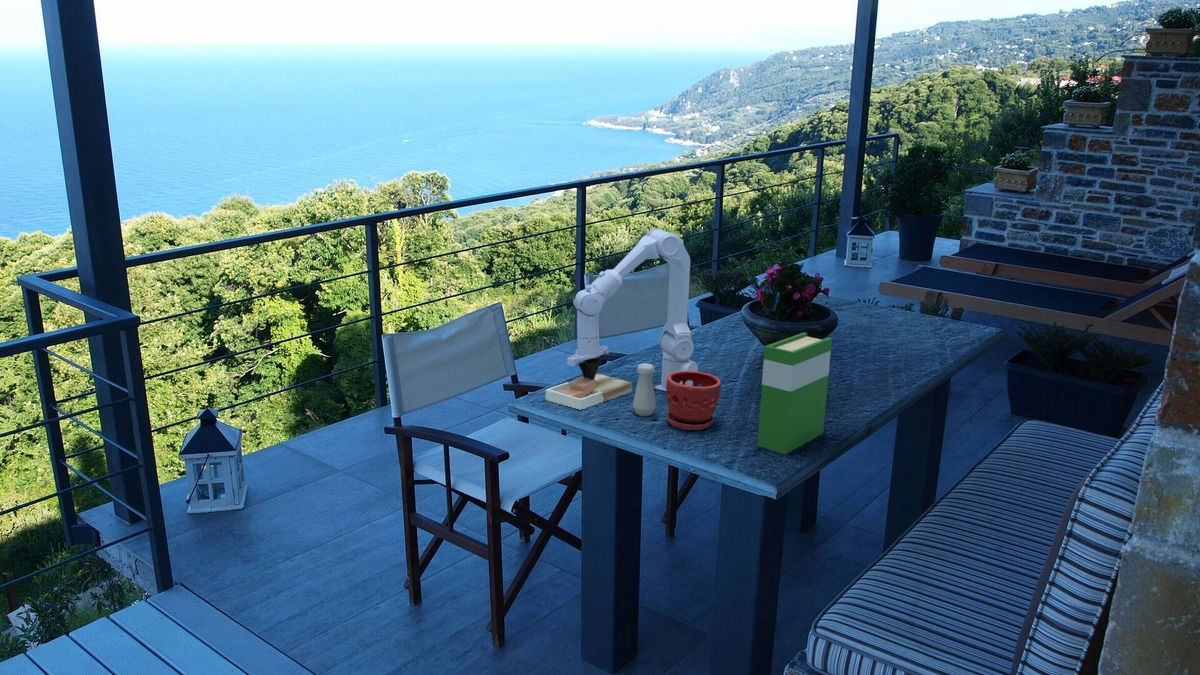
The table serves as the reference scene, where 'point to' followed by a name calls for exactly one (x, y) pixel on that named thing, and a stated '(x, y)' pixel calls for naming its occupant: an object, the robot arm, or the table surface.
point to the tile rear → (583, 384)
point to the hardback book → (793, 392)
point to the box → (572, 398)
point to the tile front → (573, 393)
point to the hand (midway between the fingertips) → (588, 385)
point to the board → (611, 387)
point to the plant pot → (692, 399)
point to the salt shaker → (644, 391)
